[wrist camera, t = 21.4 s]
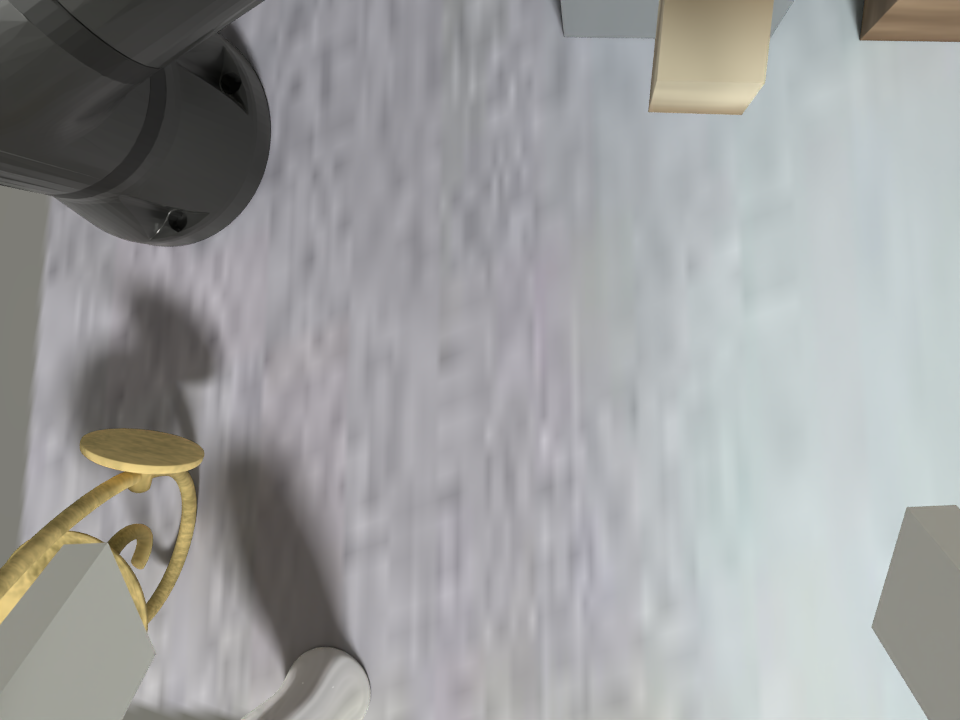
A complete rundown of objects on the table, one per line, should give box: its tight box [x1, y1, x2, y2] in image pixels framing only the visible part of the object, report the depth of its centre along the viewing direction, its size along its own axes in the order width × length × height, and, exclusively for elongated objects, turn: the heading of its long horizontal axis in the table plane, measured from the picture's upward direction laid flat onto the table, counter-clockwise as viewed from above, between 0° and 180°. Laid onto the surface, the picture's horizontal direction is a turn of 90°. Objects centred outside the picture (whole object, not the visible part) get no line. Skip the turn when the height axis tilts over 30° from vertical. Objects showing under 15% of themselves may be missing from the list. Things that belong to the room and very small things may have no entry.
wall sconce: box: [0, 428, 204, 631], centre depth 35 cm, size 14×10×25 cm
